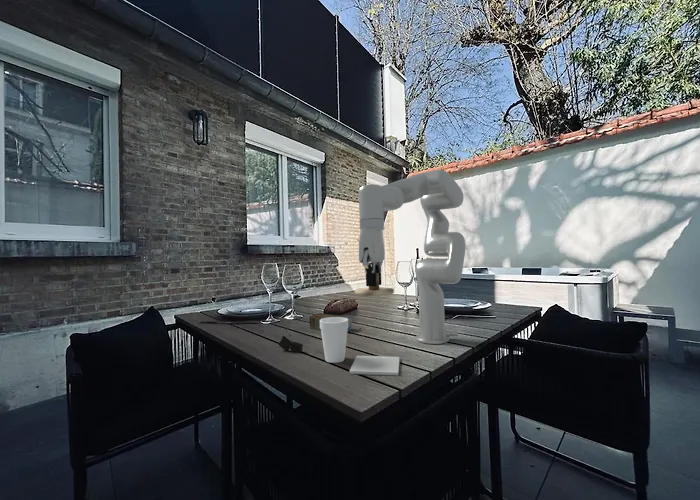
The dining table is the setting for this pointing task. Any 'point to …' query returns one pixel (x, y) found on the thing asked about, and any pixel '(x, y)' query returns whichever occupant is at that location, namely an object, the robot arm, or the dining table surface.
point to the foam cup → (334, 338)
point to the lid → (374, 290)
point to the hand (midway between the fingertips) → (373, 285)
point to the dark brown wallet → (290, 344)
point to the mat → (375, 365)
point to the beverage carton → (316, 318)
